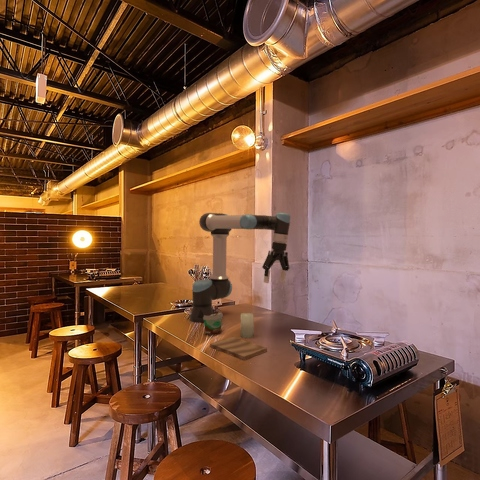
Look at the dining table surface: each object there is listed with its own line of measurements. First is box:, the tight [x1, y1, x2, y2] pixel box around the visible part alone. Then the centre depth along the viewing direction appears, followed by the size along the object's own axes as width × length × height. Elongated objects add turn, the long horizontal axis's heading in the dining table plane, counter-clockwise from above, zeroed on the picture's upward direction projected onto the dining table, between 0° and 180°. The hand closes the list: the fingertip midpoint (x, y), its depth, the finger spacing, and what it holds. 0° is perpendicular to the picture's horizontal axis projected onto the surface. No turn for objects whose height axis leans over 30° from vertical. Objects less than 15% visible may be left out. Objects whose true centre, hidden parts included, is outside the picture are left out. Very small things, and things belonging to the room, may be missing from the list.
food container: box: [203, 310, 224, 336], centre depth 164 cm, size 12×6×10 cm, turn 143°
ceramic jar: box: [240, 312, 255, 339], centre depth 159 cm, size 6×6×11 cm
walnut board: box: [209, 336, 268, 361], centre depth 141 cm, size 22×14×2 cm, turn 44°
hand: (274, 282), depth 166 cm, fingers open, 13 cm apart
